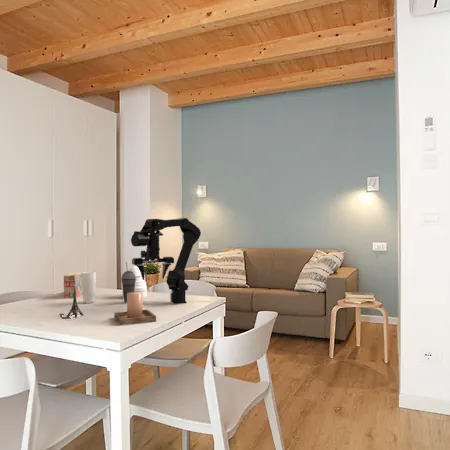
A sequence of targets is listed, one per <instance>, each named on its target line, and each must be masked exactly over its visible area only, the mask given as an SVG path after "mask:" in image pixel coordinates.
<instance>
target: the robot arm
mask: <svg viewBox="0 0 450 450" xmlns="http://www.w3.org/2000/svg"><path fill="white" fill-rule="evenodd" d="M173 227H179V228H180V231H181V232H182V235H183V236H182V239H183V244H182V247H181V249H180V253H179V255H178V258H177V260H176V262H175V258H174V257H173V256H163V257H162V258H160V249H161V248H160V237H161V236H164V234H163V232H161V231H162V230H164V229H166V228H173ZM201 233H202V232H201V229H200V227H197V225H196V224H194V223H193V222H191V220H189V219H188V218H187V217H179V218H171V219H161V218H148V219H146V220H145V222H144V225H142V228H141V230H140V231H139V230H138V231H136V230H135V231H133V234H132V236H131V238H130V244H131V246H133V247H146V250H140V257H133V258H131V264H132V266H137V267H138V268H139V270H140V273H141V276H142V279H143V280H145V265H143V264H147V263H148V264H151V263H154V264H155V263H162V264H161V265H162V271H161V272H162V273H161V279H163V280H164V279H165V278H166V281H165V282H166V284H167V286H168V289H169V290H171V292H170V299H169V300H170V303H171V304H175V305H176V304H186V303H188V302H187V301H186V291H188V289H189V285H188V284H187V283H186V281H185V279H186V275H185V270H186V266H187V264H188V261H189V258H190V255H191V252H192V250H193V248H194V245H195V244H196V243H197V242H198V241H199V239H200V237H201ZM175 263H176V264H175ZM172 264H175V266H174V268H173V269H172V270H171V269H169V267H170V266H171V265H172ZM168 269H169V271H168ZM166 274H167V276H166ZM165 276H166V277H165Z"/></svg>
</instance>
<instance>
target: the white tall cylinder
mask: <svg viewBox="0 0 450 450" xmlns="http://www.w3.org/2000/svg"><path fill="white" fill-rule="evenodd" d="M81 273H82V289H83V295H82V298H83V304H92V303H95V301H96V300H95V299H96V287H97V286H96V285H97V272H96V271H83V272H82V271H81Z"/></svg>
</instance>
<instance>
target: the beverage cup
mask: <svg viewBox="0 0 450 450" xmlns="http://www.w3.org/2000/svg"><path fill="white" fill-rule="evenodd" d="M125 267H126V268H125V269H126V271H124V272H123V273H122V275H121V278H120V280H121V285H122V287H123V290H122V291H123V297H124V298H123V297H122V298H123V303H124V304H127V293H130V292H134V289H135V281H136V277H135V274H134V273H133V272H132V271H129V269H128V262H127V261H125Z"/></svg>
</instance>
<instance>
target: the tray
mask: <svg viewBox="0 0 450 450" xmlns="http://www.w3.org/2000/svg"><path fill="white" fill-rule="evenodd" d="M113 318H114V320H115V321H116V322H117V324H118V325H119V326H123V325H124V326H125V325H135V324H145V323H152V322H153V323H154V322H155V323H156V322H157V316H156V315H155V314H154V313H153V312H151V311H150V310H149V309H142V317H136V318H127V310H126V311H117V312H113Z"/></svg>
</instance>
